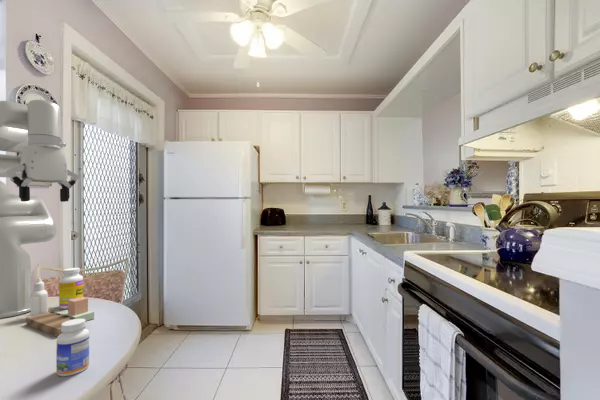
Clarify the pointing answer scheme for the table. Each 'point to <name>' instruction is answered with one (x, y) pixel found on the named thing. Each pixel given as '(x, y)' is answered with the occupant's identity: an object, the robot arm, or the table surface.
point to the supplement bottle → (70, 286)
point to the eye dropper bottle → (39, 299)
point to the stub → (79, 309)
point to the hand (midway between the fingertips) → (45, 201)
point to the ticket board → (48, 322)
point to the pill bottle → (72, 348)
